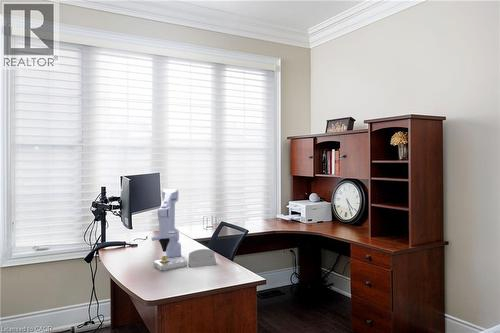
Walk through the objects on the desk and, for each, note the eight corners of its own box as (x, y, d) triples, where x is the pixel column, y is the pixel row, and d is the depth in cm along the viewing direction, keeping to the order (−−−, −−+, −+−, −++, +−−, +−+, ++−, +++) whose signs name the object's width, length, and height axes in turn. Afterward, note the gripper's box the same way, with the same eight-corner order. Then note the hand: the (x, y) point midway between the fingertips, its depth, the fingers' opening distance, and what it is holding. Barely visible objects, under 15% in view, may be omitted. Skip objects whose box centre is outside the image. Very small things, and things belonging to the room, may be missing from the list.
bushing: (166, 265, 219) (166, 255, 218) (169, 267, 215) (169, 256, 215) (159, 266, 216) (159, 256, 216) (162, 268, 212) (161, 258, 212)
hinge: (189, 267, 214) (188, 250, 217) (188, 267, 219) (186, 250, 222) (217, 264, 220) (215, 247, 223) (215, 264, 224) (213, 248, 227)
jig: (178, 261, 227) (178, 256, 227) (186, 266, 217) (186, 261, 217) (153, 265, 218) (153, 260, 218) (160, 270, 208) (160, 265, 208)
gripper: (154, 230, 208) (154, 254, 208) (178, 228, 216) (178, 250, 216) (150, 229, 214) (150, 252, 214) (173, 226, 222) (174, 248, 222)
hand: (164, 251), depth 215 cm, fingers closed
